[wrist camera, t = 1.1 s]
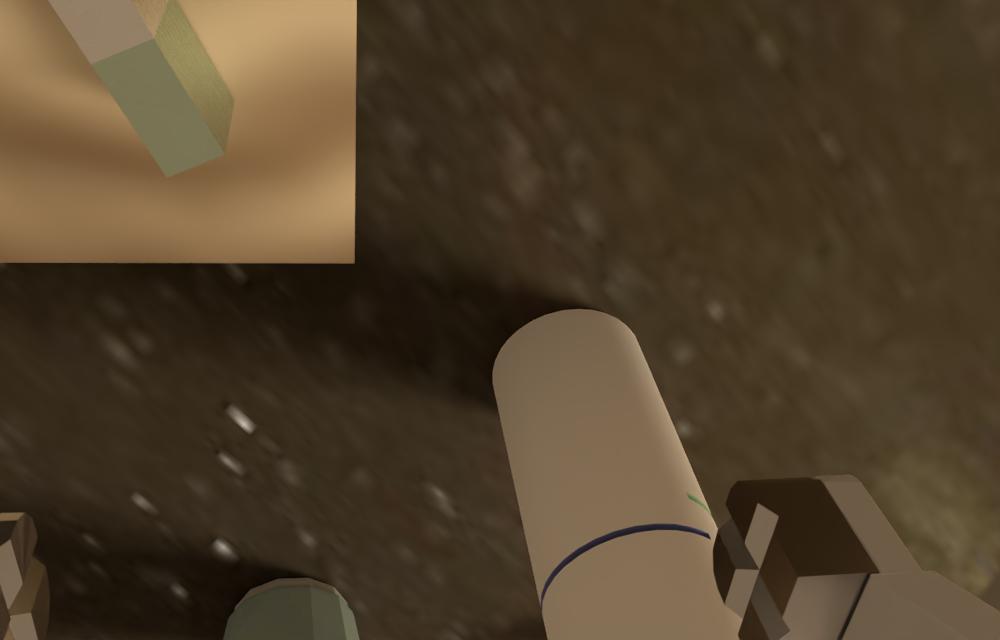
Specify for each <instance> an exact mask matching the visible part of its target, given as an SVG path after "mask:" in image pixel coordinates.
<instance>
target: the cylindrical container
mask: <svg viewBox="0 0 1000 640" xmlns="http://www.w3.org/2000/svg"><path fill="white" fill-rule="evenodd" d="M492 375H493V387H494V392H495V397H496V401H497V406H498V411H499V415H500V420H501V425H502V429H503V434H504V439H505V443H506V448H507V453H508V457H509V462H510V467H511V471H512V476H513V481H514V485H515V490H516V495H517V499H518V504H519V508H520V513H521V518H522V522H523V527H524V532H525V536H526V541H527V546H528V550H529V555H530V559H531V564H532V569H533V573H534V578H535V583H536V587H537V592H538V597H539V601H540V606H541V609H542V615H543V620H544V624H545V629H546V634H547V638H548V640H740V639H739V637H738V632H739V629H740V626H741V623H742V620H743V619H742V618H741V617H740V616H738V615H737V614H736V613H734V612H733V611H732V610H730V609H729V608H728V607H726V606H725V605H724V603H723V600H722V598H721V596H720V593H719V591H718V589H717V585H716V581H715V577H714V572H713V546H714V542H715V539H716V535H717V531H718V529H717V527H716V524H715V522H714V520H713V518H712V515H711V513H710V510H709V508H708V505H707V503H706V501H705V498H704V496H703V494H702V491H701V489H700V487H699V484H698V482H697V480H696V477H695V475H694V473H693V470H692V468H691V466H690V463H689V461H688V459H687V456H686V454H685V452H684V449H683V447H682V445H681V442H680V440H679V438H678V435H677V433H676V430H675V428H674V426H673V423H672V421H671V419H670V416H669V414H668V412H667V409H666V407H665V405H664V402H663V400H662V398H661V395H660V393H659V391H658V388H657V386H656V384H655V381H654V379H653V377H652V374H651V372H650V370H649V367H648V365H647V363H646V360H645V358H644V355H643V353H642V351H641V348H640V346H639V344H638V342H637V339H636V337H635V335H634V334H633V332H632V331H631V330H630V329H629V328H628V326H627V325H625V324H624V323H623V322H621V321H620V320H619V319H617V318H615V317H613V316H611V315H609V314H606V313H603V312H599V311H595V310H587V309H571V310H562V311H558V312H554V313H550V314H546V315H544V316H542V317H539V318H537V319H535V320H533V321H531V322H529V323H528V324H526V325H525V326H523V327H522V328H520V329H519V330H517V331H516V332H515V333H514V334H513V335H512V336H511V337H510V338H509V339H508V340H507V341H506V343H505V344H504V345H503V347H502V348H501V349H500V351H499V353H498V355H497V357H496V359H495V363H494V367H493V371H492Z"/></svg>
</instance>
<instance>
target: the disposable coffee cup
mask: <svg viewBox="0 0 1000 640" xmlns="http://www.w3.org/2000/svg"><path fill="white" fill-rule="evenodd" d="M223 640H359V636H358V632H357V628H356V623H355V619H354V614H353V612H352V611H351V610H350V608H349V607H348V605H347V602H346V601H345V599H344V598H343V597H342V596H341V595H340V593H339V592H338V591H337V590H336V589H335V588H334V586H331V585H328V584H325V583H322V582H319V581H316V580H314V579H311V578H283V579H276V580H273V581H271V582H268V583H266V584H263V585H260V586H258V587H255V588H253V589H251V590H250V591H249V592H248V593H247V594H246V595H245V596H244V597H243V599H242V600H241V601H240V602H239V603H238V604H237V605H236V606H235V610H234V612H233V613H232V614H231V615H230V617H229V618H228V622H227V626H226V630H225V634H224V638H223Z"/></svg>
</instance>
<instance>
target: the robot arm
mask: <svg viewBox="0 0 1000 640" xmlns="http://www.w3.org/2000/svg"><path fill="white" fill-rule="evenodd" d="M726 506H727V508H728V510H729V512H730V514H731V516H732V518H731V519H730V520H729V521H727V522H726V523H725V524H724V525H723V526H722V527H721V528H719V529H718V531H717V535H716V539H715V542H714V546H713V572H714V577H715V581H716V585H717V589H718V591H719V593H720V596H721V598H722V600H723V603H724V605H725V606H726V607H728V608H729V609H730V610H732V611H733V612H734V613H736V614H737V615H738V616H740V617H741V618H742V619H743V620H742V623H741V626H740V629H739V632H738V637H739V639H740V640H1000V612H999V611H998V610H996V609H994V608H992V607H991V606H990V605H988V604H987V603H985V602H983V601H982V600H980V599H979V598H977V597H975V596H974V595H972V594H971V593H969V592H967V591H966V590H964V589H962V588H961V587H959V586H958V585H956V584H954V583H953V582H951V581H950V580H948V579H946V578H945V577H943V576H942V575H940V574H938V573H937V572H935V571H922V570H921V568H920V567H919V565H918V564H917V562H916V561H915V560H914V558H913V557H912V555H911V554H910V552H909V551H908V549H907V548H906V547H905V545H904V544H903V542H902V541H901V539H900V538H899V536H898V535H897V534H896V532H895V531H894V529H893V528H892V526H891V525H890V524H889V522H888V521H887V519H886V518H885V516H884V515H883V513H882V512H881V511H880V509H879V508H878V506H877V505H876V503H875V502H874V500H873V499H872V498H871V496H870V495H869V493H868V492H867V490H866V489H865V487H864V486H863V485H862V483H861V482H860V481H859V480H858V479H857V478H855V477H854V476H852V475H834V476H816V477H812V478H809V477H801V478H783V479H764V480H745V481H737V482H736V483H735V484H734V485H733V487H732V488H731V489H730V492H729V495H728V498H727V501H726ZM37 539H38V535H37V532H36V529H35V525H34V522H33V519H32V516H31V515H29V514H27V513H0V640H45V636H46V632H47V628H48V619H49V610H50V589H49V580H48V576H47V571H46V567H45V565H43V564H42V563H40V562H39V561H38V560H36V559H35V558H34V557H32V554H33V551H34V548H35V545H36V542H37Z"/></svg>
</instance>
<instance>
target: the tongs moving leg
mask: <svg viewBox="0 0 1000 640" xmlns="http://www.w3.org/2000/svg"><path fill="white" fill-rule="evenodd" d="M48 1H49V2H50V4H51V5H52V7H53V8H54V10H55V11H56V13H57V14H58V16H59V17H60V19H61V20H62V22H63V23H64V25H65V26H66V28H67V29H68V31H69V32H70V34H71V35H72V37H73V38H74V40H75V41H76V43H77V44H78V46H79V47H80V49H81V50H82V52H83V53H84V55H85V56H86V58H87V59H88V61H89V62H90V64H91V65H92V67H93V68H94V70H95V71H96V73H97V74H98V76H99V77H100V79H101V80H102V82H103V83H104V85H105V86H106V88H107V89H108V91H109V92H110V94H111V95H112V97H113V98H114V100H115V101H116V103H117V104H118V106H119V107H120V109H121V110H122V112H123V113H124V115H125V116H126V118H127V119H128V121H129V122H130V123H131V125H132V126H133V128H134V129H135V131H136V132H137V134H138V135H139V137H140V138H141V140H142V141H143V143H144V144H145V146H146V147H147V149H148V150H149V152H150V153H151V155H152V156H153V158H154V159H155V161H156V162H157V164H158V165H159V167H160V168H161V170H162V171H163V173H164V174H165V176H166V177H167V178H168V177H170V176H173V175H175V174H178V173H180V172H183V171H185V170H188V169H190V168H193V167H195V166H198V165H200V164H203V163H205V162H208V161H210V160H213V159H215V158H218V157H221V156H223V155H225V151H226V146H227V141H228V135H229V130H230V124H231V119H232V113H233V108H234V102H235V101H234V99H233V97H232V96H231V94H230V92H229V90H228V89H227V87H226V85H225V83H224V82H223V80H222V78H221V77H220V75H219V73H218V71H217V70H216V68H215V66H214V64H213V63H212V61H211V59H210V58H209V56H208V54H207V52H206V51H205V49H204V47H203V45H202V44H201V42H200V40H199V39H198V37H197V35H196V33H195V32H194V30H193V28H192V26H191V25H190V23H189V21H188V20H187V18H186V16H185V14H184V13H183V11H182V9H181V7H180V6H179V4H178V2H177V1H176V0H48Z"/></svg>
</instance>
